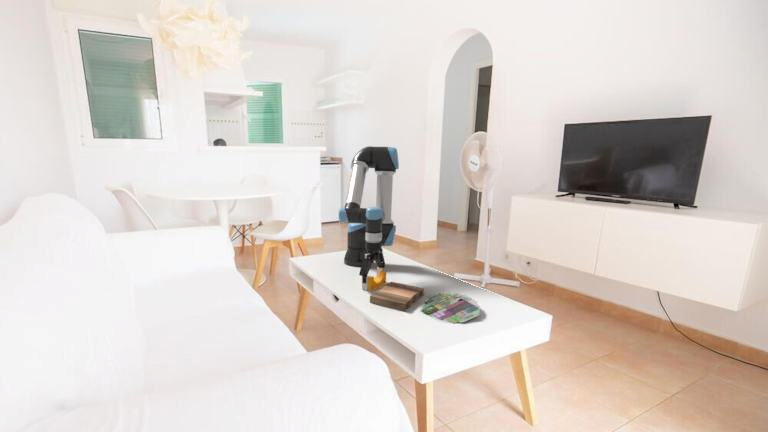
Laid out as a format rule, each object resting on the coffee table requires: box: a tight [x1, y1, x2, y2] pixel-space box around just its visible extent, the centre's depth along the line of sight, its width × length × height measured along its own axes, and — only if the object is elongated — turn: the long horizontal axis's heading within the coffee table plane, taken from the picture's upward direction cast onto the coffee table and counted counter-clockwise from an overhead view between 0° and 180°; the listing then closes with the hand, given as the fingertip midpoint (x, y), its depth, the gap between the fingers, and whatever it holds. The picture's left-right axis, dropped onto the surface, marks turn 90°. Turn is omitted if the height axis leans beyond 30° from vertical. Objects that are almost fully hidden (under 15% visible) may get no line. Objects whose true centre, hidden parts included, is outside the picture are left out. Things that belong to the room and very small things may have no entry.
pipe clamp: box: [367, 269, 387, 292], centre depth 173 cm, size 12×4×6 cm, turn 145°
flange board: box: [369, 281, 425, 312], centre depth 160 cm, size 20×16×3 cm
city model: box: [421, 292, 481, 325], centre depth 149 cm, size 25×23×6 cm
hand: (372, 285), depth 175 cm, fingers open, 13 cm apart
